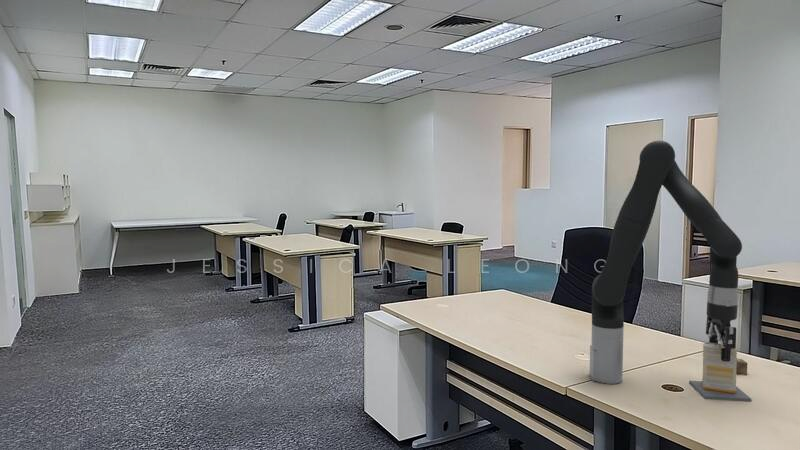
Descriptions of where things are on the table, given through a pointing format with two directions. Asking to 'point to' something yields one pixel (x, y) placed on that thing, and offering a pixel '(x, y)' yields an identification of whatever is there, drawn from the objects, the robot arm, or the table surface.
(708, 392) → the rubber mat
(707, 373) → the supplement box
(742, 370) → the letter cube
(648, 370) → the table surface
